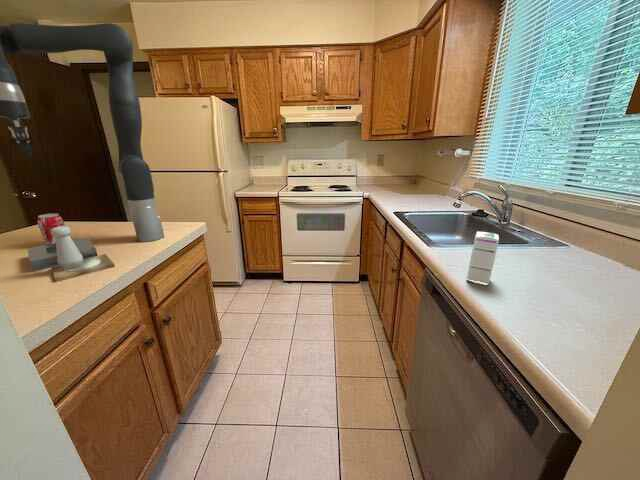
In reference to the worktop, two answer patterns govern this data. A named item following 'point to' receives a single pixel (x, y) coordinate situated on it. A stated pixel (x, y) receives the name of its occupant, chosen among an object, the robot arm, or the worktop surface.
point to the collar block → (48, 254)
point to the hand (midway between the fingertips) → (27, 155)
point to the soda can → (49, 226)
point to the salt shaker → (66, 248)
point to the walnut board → (83, 267)
